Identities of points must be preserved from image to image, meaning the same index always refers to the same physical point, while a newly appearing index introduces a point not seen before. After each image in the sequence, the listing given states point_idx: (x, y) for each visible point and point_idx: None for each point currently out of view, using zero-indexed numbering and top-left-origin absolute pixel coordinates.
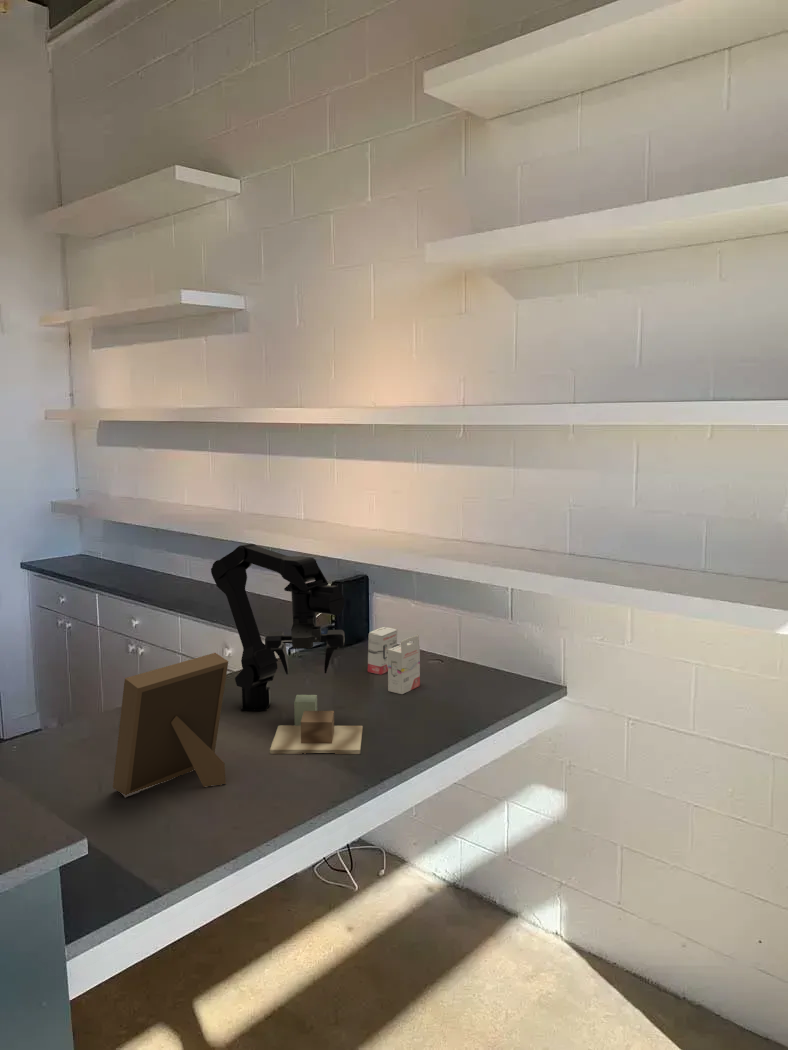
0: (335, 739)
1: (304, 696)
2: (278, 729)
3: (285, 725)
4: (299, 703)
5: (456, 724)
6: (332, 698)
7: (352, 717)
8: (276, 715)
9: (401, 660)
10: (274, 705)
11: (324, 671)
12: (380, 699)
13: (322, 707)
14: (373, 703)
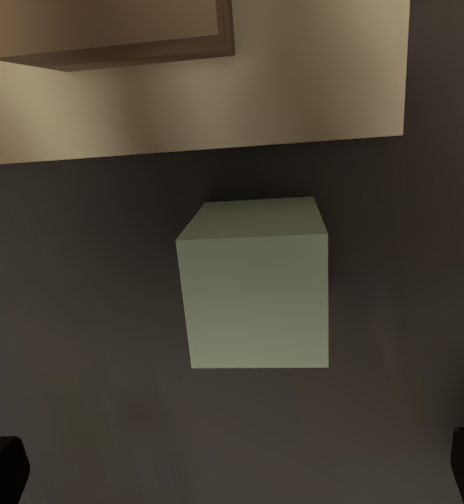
0: None
1: (269, 339)
2: (397, 69)
3: (360, 137)
4: (288, 232)
5: None
6: (192, 501)
7: (56, 310)
8: (425, 323)
9: None
10: (445, 437)
11: (3, 450)
12: None
13: (215, 415)
14: None
